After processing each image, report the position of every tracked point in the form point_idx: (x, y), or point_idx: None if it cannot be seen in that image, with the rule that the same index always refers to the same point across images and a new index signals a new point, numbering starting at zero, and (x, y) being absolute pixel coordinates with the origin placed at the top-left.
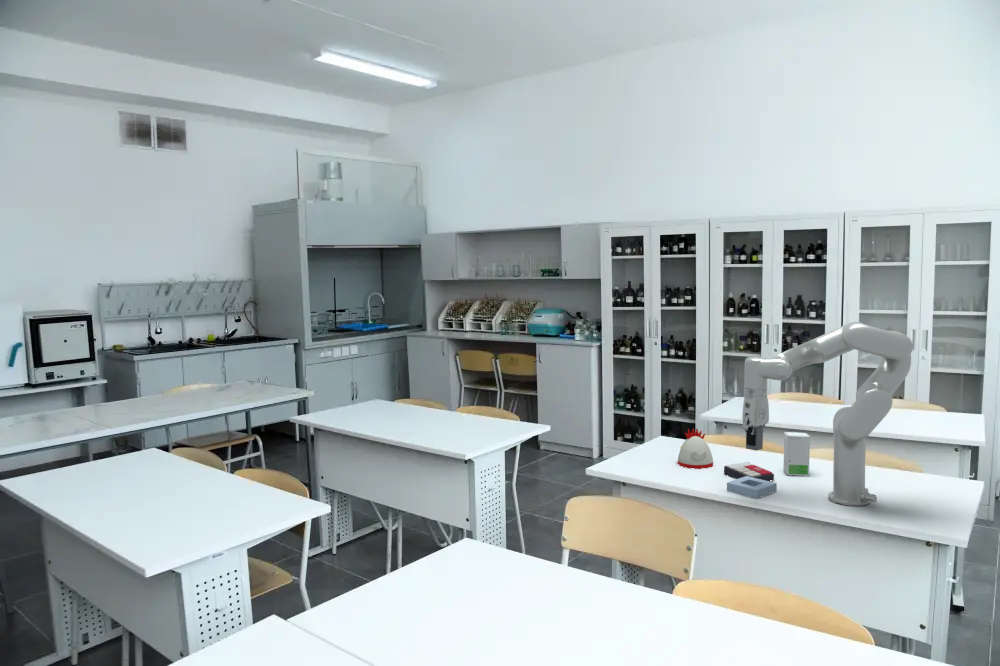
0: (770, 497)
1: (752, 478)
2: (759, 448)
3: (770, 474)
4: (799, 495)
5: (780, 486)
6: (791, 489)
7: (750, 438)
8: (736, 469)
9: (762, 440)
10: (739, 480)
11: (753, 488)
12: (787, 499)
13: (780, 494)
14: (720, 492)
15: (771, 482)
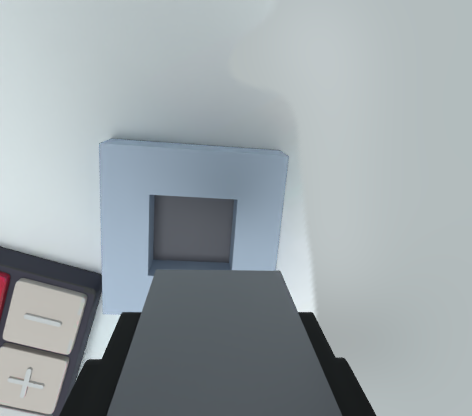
0: (217, 114)
1: (119, 273)
2: (218, 276)
3: None
4: (79, 18)
5: (19, 165)
6: (18, 99)
7: (363, 411)
8: (57, 393)
9: (145, 321)
10: None
11: (272, 184)
12: (186, 35)
13: (138, 101)
14: (301, 302)
15: (109, 169)
